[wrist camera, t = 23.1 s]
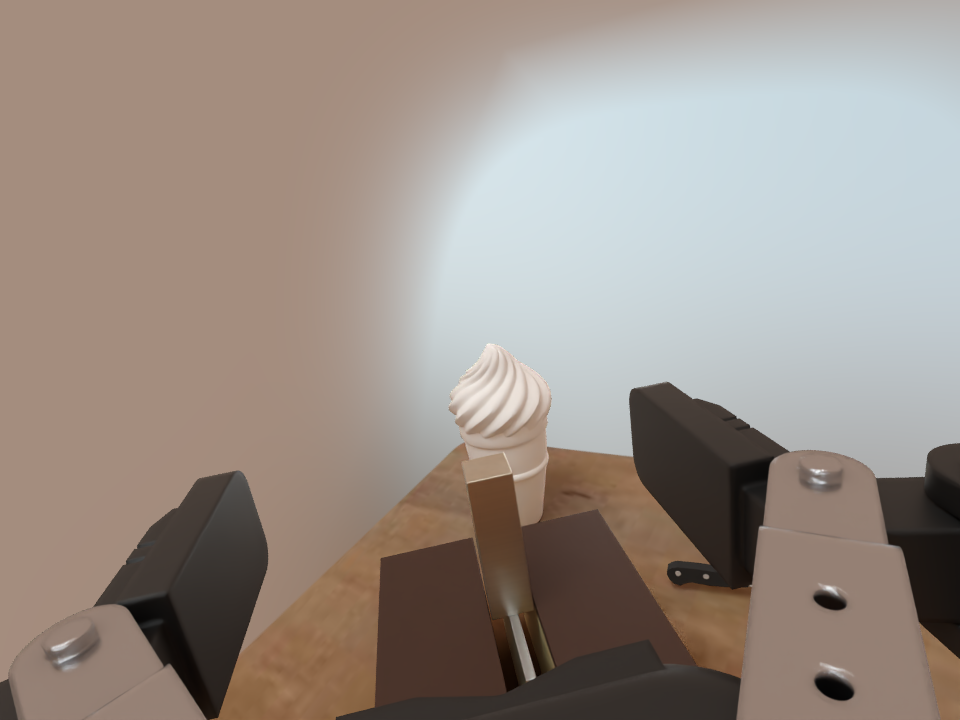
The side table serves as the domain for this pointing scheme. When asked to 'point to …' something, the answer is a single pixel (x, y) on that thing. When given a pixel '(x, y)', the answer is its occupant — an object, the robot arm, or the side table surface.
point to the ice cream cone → (507, 422)
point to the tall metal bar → (501, 551)
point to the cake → (552, 624)
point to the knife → (694, 574)
